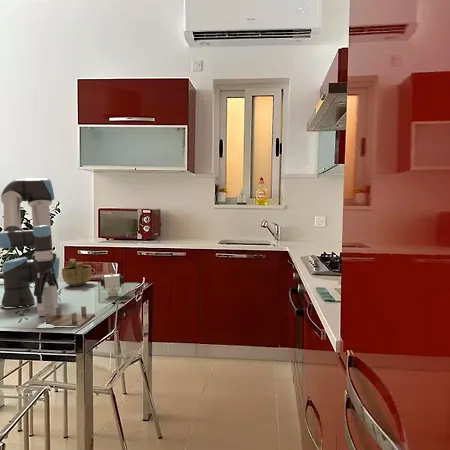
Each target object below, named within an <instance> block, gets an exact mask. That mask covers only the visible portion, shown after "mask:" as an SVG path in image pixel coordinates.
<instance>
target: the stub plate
mask: <svg viewBox="0 0 450 450" xmlns="http://www.w3.org/2000/svg"><path fill="white" fill-rule="evenodd" d="M80 311H81V313H77V312H72V313H70V314H62V307H61V306H58V307H57V308H56V315H54V316H50V314H45V317H44V321H43V322H46V324H51V325H54V326H81V325H83V324H84V323H85V324H86V323H87V321H88V322H89V321H90V320H92V319H93V318H94V317H95V316H96V313H87V306H86V305H85V306H84V305H83V306H81V307H80ZM85 324H84V325H85ZM84 325H83V326H84ZM81 327H82V326H81Z"/></svg>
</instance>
